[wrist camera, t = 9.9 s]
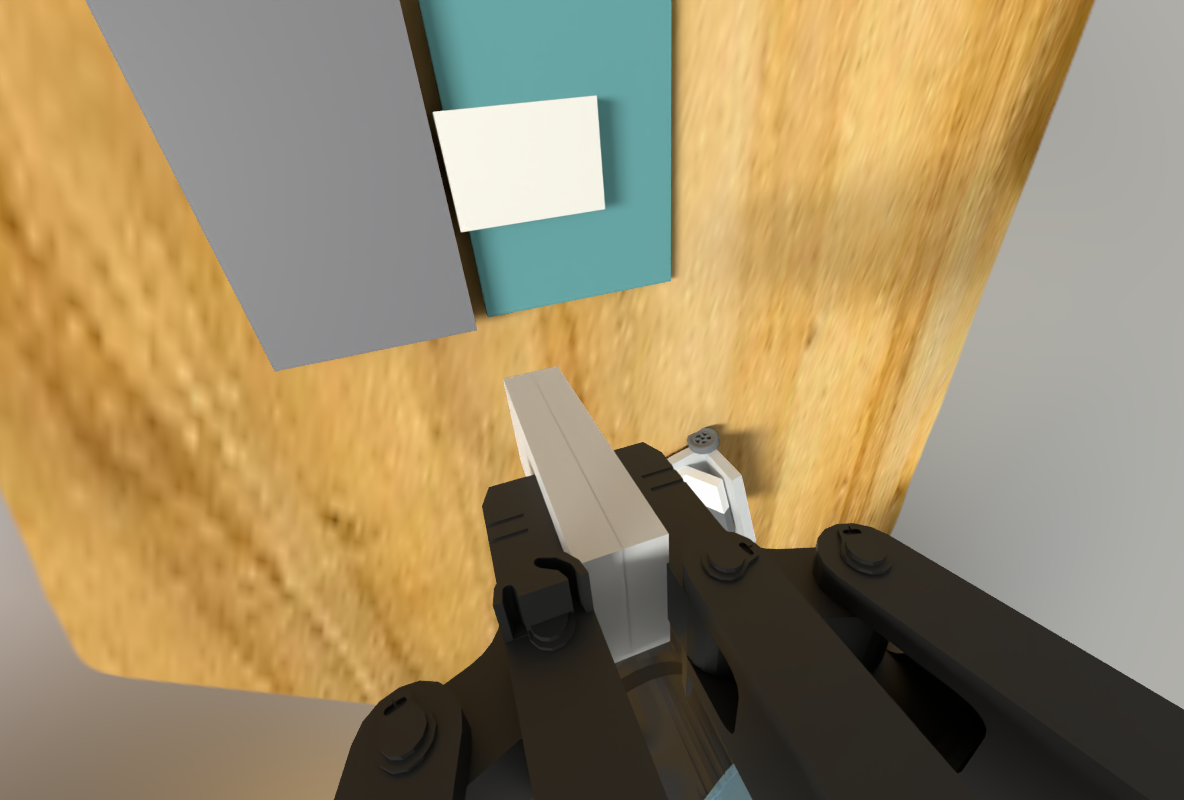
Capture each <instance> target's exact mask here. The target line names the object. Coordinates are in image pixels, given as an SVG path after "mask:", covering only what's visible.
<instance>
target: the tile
mask: <svg viewBox="0 0 1184 800" xmlns="http://www.w3.org/2000/svg"><path fill="white" fill-rule="evenodd" d="M432 117H433V121H434V125H435V129H436V134H437V138H438V142H439V146H440V151H441V155H442V159H443V163H444V168H445V172H446V176H447V180H448V184H449V189H450V193H451V197H452V201H453V206H454V210H455V214H456V218H457V223H458V227H459V229H460V231H461V232H466V231H472V230H479V229H485V228H491V227H497V226H503V225H510V224H516V223H522V222H528V221H535V220H541V219H547V218H553V217H559V216H566V215H572V214H578V213H584V212H590V211H597V210H603V209H605V201H604V187H603V174H602V160H601V147H600V133H599V120H598V106H597V95H596V96H586V97H576V98H566V99H556V100H546V101H536V102H526V103H516V104H506V105H496V106H486V107H476V108H467V109H457V110H447V111H437V112H432Z"/></svg>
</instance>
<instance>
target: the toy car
mask: <svg viewBox="0 0 1184 800" xmlns="http://www.w3.org/2000/svg"><path fill="white" fill-rule="evenodd" d="M687 442H688V445H689V447H688V448H686V449H684V450H682V451H680V452H679V453H677V454H675V455H673V456H671V457H669V458H667V460H668V461H669V462H670V463H671V464H672V466H673V468H674V470H675V469H676V471H677V472H678V473H679V474H680V475H681V477H682V478H683V481H684V482H686V483H687V484H688V485H689V486H690V488H691V489H692V490H693V491H694V493H695V494H696V495H697V496H698V497H699V499H700V500H701V501H702V502H703V503H704V505H705V506H706V507H707V508H708V510H709V511H710V512H711V513H712V514H713V516H714V517H715V518H716V519H717V521H718V522H719V523H720V524H721V525H722V527H723V528H724V529H725V530H726V531H728V532H736V533H737V534H740V535H742V536H745V537H747V538H749V539H751V540H752V541H753V542H756V539H755V534H754V530H753V525H752V520H751V516H750V511H749V506H748V502H747V497H746V493H745V488H744V483H743V479H742V475H741V474H740V473H739V472H738V471H737V470H736V469H735V468H734V467H733V466H732V465H731V464H730V463H729V461H728V460H727V459H726V458H725V457H724V456H723V455H722V454H721V453H720V452H719V451H718V450H717V447H718V446H719V443H720V439H719V435H718V433H717V431H715V430H714V429H712V428H709V427H705V428H703V429H701V430H699V431H698V432H696V433H693V434H691V435H689V436H688V439H687Z"/></svg>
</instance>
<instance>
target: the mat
mask: <svg viewBox="0 0 1184 800" xmlns="http://www.w3.org/2000/svg"><path fill="white" fill-rule="evenodd" d="M418 3H419V7H420V12H421V17H422V21H423V26H424V30H425V35H426V39H427V44H428V48H429V53H430V58H431V62H432V67H433V71H434V76H435V80H436V85H437V89H438V94H439V99H440V103H441V108H442V111H447V110H457V109H467V108H476V107H486V106H496V105H506V104H516V103H526V102H536V101H546V100H556V99H566V98H576V97H586V96H596V95H597V106H598V120H599V133H600V147H601V160H602V174H603V187H604V201H605V209H603V210H597V211H590V212H584V213H578V214H572V215H566V216H559V217H553V218H547V219H541V220H535V221H528V222H522V223H516V224H510V225H503V226H497V227H491V228H485V229H479V230H472V231H469V235H470V240H471V244H472V249H473V253H474V258H475V263H476V267H477V272H478V276H479V281H480V285H481V290H482V295H483V299H484V304H485V308H486V313H487V315H488V317H492V316H497V315H502V314H507V313H512V312H517V311H522V310H527V309H532V308H537V307H542V306H547V305H552V304H557V303H563V302H568V301H573V300H578V299H583V298H588V297H593V296H598V295H603V294H608V293H613V292H618V291H623V290H628V289H633V288H638V287H643V286H648V285H653V284H658V283H663V282H668V281H671V0H418Z"/></svg>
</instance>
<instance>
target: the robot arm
mask: <svg viewBox="0 0 1184 800" xmlns="http://www.w3.org/2000/svg"><path fill="white" fill-rule="evenodd" d="M503 381H504V385H505V390H506V395H507V399H508V404H509V409H510V413H511V418H512V423H513V427H514V432H515V436H516V441H517V446H518V450H519V455H520V460H521V463H522V466H523V469H524V472H525V475H526V477H524V478H520V479H517V480H513V481H509V482H506V483H502V484H499V485H495V486H492V487H489V489H488V491H487V494H486V497H485V500H484V502H483V505H482V508H483V513H484V519H485V524H486V528H487V535H488V540H489V544H490V551H491V556H492V561H493V567H494V572H495V577H496V583H497V584H496V586H495V588H494V596H493V608H494V611H495V614H496V617H497V620H498V623H499V629H498V631H497V633H496V635H495V637H494V639H493V641H492V643H491V644H490V646H489V647H488V648H487V649H486V651H485V652H484V653H483V655H481V656H480V657H479V658H478V659H477V660H476V661H475V662H474V663H472V664H471V665H470V666H469V667H467V668H466V669H465V670H463V671H462V672H461V673H459V674H458V675H457V676H455V677H454V678H452V679H451V680H450V681H448V682H447V683H446V684H444V685H443V684H441V683H439V682H433V681H417V682H414V683H411V684H408V685H405V686H402V687H399V688H398V689H397V690H395V691H394V692H392V693H391V694H390V695H388V696H387V697H385V698H384V699H382V700H381V701H380V702H379V703H378V704H377V705H376V706H375V708H374V709H373V710H372V711H371V712H370V714H369V715H368V716H367V717H366V718H365V720H364V721H363V722H362V724H361V726H360V728H359V731H358V732H357V735H356V737H355V739H354V741H353V743H352V745H351V748H350V751H349V754H348V757H347V760H346V764H345V767H344V770H343V773H342V776H341V779H340V783H339V786H338V789H337V792H336V795H335V798H334V800H1184V710H1183V709H1182V708H1180V707H1179V706H1177V705H1175V704H1173V703H1172V702H1170V701H1168V700H1167V699H1165V698H1163V697H1162V696H1160V695H1158V694H1157V693H1154V692H1153V691H1151V690H1150V689H1148V688H1146V687H1145V686H1143V685H1141V684H1140V683H1138V682H1136V681H1135V680H1133V679H1131V678H1130V677H1128V676H1126V675H1124V674H1123V673H1121V672H1119V671H1118V670H1116V669H1114V668H1113V667H1111V666H1109V665H1108V664H1106V663H1104V662H1102V661H1101V660H1099V659H1097V658H1095V657H1094V656H1092V655H1091V654H1089V653H1087V652H1086V651H1084V650H1082V649H1081V648H1079V647H1077V646H1075V645H1074V644H1072V643H1070V642H1068V641H1067V640H1065V639H1063V638H1062V637H1060V636H1059V635H1057V634H1055V633H1053V632H1052V631H1050V630H1048V629H1047V628H1045V627H1043V626H1042V625H1040V624H1038V623H1037V622H1035V621H1033V620H1031V619H1030V618H1028V617H1026V616H1025V615H1023V614H1021V613H1019V612H1018V611H1016V610H1015V609H1013V608H1011V607H1009V606H1008V605H1006V604H1004V603H1003V602H1001V601H999V600H997V599H996V598H994V597H993V596H991V595H989V594H987V593H986V592H984V591H982V590H981V589H979V588H977V587H976V586H974V585H972V584H971V583H969V582H967V581H965V580H964V579H962V578H960V577H959V576H957V575H955V574H954V573H952V572H950V571H949V570H947V569H945V568H944V567H942V566H940V565H938V564H937V563H935V562H933V561H932V560H930V559H928V558H927V557H925V556H923V555H922V554H920V553H918V552H916V551H915V550H913V549H911V548H910V547H908V546H906V545H905V544H903V543H901V542H900V541H898V540H896V539H894V538H893V537H891V536H889V535H888V534H885V533H883V532H881V531H879V530H876V529H874V528H872V527H868V526H864V525H859V524H854V523H850V524H836V525H834V526H831V527H829V528H827V529H825V530H824V531H823V532H822V533H821V535H820V536H819V537H818V540H817V544H816V547H815V548H794V549H765V548H760V547H759V546H758V545H757V544H756V543H754V542H753V541H752V540H751V539H749V538H747V537H745V536H742V535H740V534H737V533H735V532H728V531H726V530H725V529H724V528H723V527H722V525H721V524H720V523H719V522H718V521H717V519H716V518H715V517H714V516H713V514H712V513H711V512H710V511H709V510H708V508H707V507H706V506H705V505H704V503H703V502H702V501H701V500H700V499H699V497H698V496H697V495H696V494H695V493H694V491H693V490H692V489H691V488H690V486H689V485H688V484H687V483H686V482H684V481H683V478H682V477H681V475H680V474H679V473H678V472H677V471H676V469H675V470H674V468H673V466H672V464H671V463H670V462H669V461H668V460H667V458H666V457H665V456H664V455H663V453H662V452H660V451H658V450H657V449H655V448H653V447H651V446H649V445H647V444H646V443H644V442H642V443H638V444H634V445H631V446H627V447H624V448H620V449H617V450H613V449H612V447H611V446H610V444H609V443H608V441H607V440H606V438H605V437H604V435H603V434H602V432H601V431H600V429H599V428H598V426H597V425H596V423H595V422H594V420H593V419H592V417H591V416H590V414H589V413H588V411H587V410H586V408H585V407H584V405H583V404H582V402H581V401H580V399H579V398H578V396H577V395H576V393H575V392H574V390H573V389H572V387H571V386H570V384H569V383H568V381H567V380H566V378H565V377H564V375H563V374H562V372H561V371H560V369H559V368H558V366H556V367H552V368H547V369H543V370H538V371H534V372H530V373H525V374H521V375H517V376H512V377H508V378H504V379H503Z"/></svg>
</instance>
